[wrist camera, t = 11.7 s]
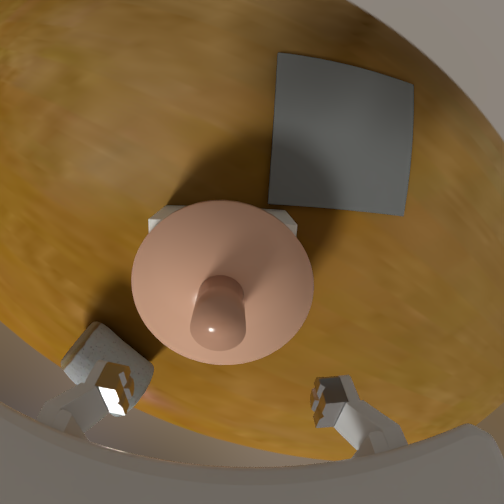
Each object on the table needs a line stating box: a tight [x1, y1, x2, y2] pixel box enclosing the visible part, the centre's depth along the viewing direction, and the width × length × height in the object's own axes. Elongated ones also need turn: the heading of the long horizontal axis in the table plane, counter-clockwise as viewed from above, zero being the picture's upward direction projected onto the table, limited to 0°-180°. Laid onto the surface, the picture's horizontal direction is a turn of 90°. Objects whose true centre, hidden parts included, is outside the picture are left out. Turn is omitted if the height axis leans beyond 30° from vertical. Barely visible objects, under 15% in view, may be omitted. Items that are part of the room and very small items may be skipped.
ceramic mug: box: [61, 321, 154, 417], centre depth 24 cm, size 11×8×8 cm
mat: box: [268, 53, 414, 216], centre depth 21 cm, size 13×13×1 cm
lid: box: [131, 200, 314, 365], centre depth 18 cm, size 13×13×5 cm
